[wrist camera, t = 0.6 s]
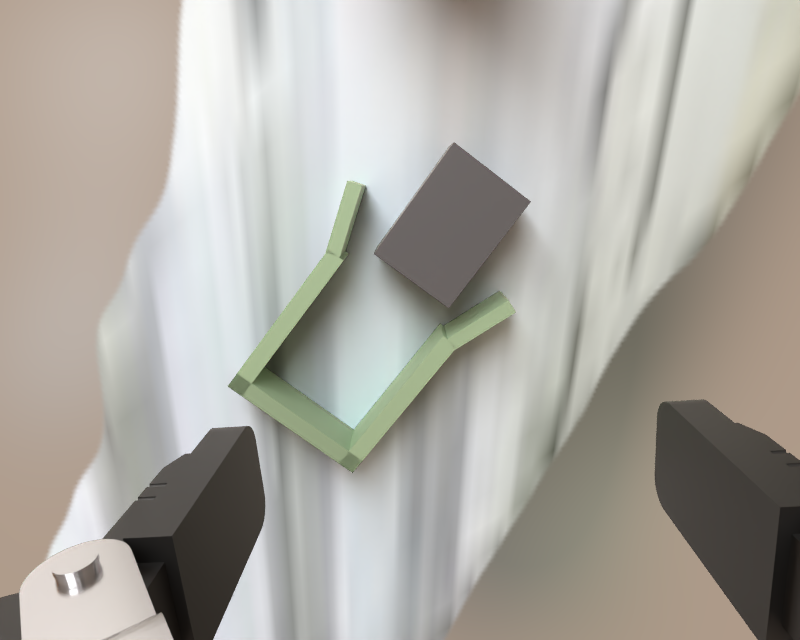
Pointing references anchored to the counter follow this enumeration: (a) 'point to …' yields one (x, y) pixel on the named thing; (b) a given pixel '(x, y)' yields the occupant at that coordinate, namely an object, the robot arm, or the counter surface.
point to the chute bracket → (429, 358)
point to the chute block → (451, 225)
